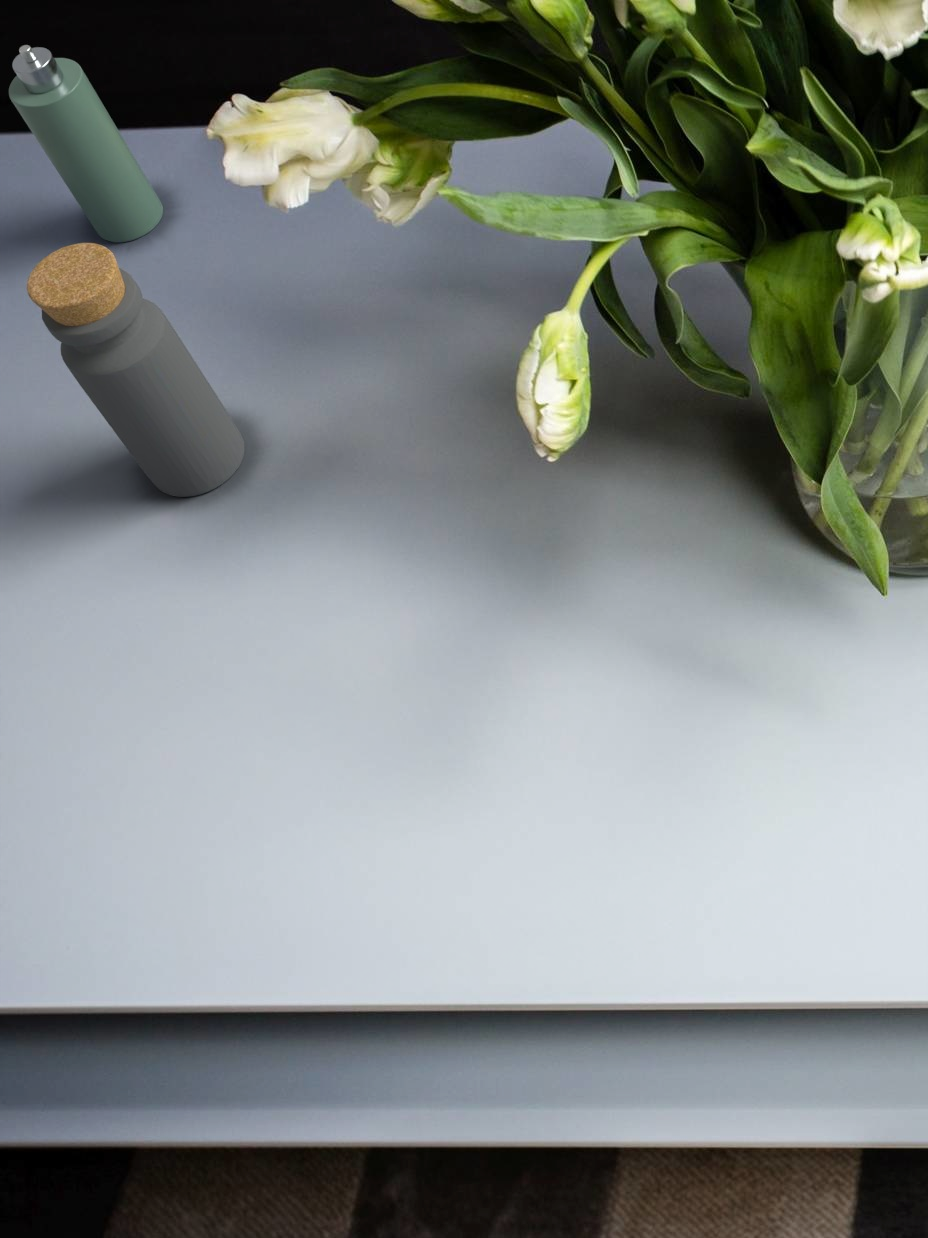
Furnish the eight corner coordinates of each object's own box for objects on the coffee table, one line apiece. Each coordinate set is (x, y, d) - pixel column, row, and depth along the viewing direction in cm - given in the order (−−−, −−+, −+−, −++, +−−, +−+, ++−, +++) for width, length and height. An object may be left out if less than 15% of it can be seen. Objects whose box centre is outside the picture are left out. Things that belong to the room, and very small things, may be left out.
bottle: (261, 465, 96) (141, 277, 84) (170, 514, 95) (35, 332, 82) (224, 407, 99) (103, 217, 86) (135, 454, 98) (0, 269, 85)
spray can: (83, 237, 109) (-29, 67, 98) (120, 190, 111) (15, 19, 100) (140, 247, 108) (33, 77, 96) (176, 200, 110) (76, 28, 99)
